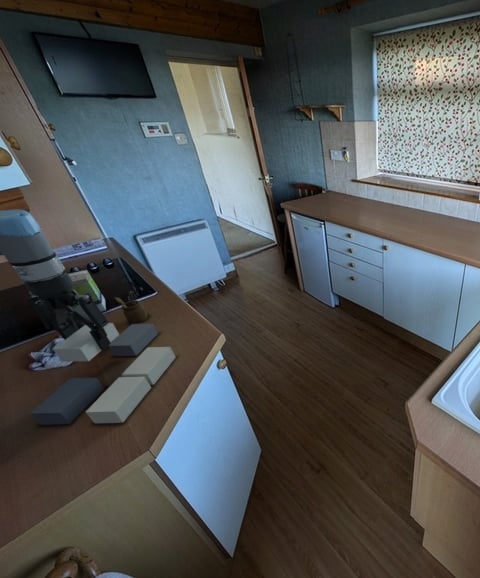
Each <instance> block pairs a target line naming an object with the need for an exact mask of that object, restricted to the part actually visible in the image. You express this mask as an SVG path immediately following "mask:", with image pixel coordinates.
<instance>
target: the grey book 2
mask: <svg viewBox="0 0 480 578" xmlns="http://www.w3.org/2000/svg"><path fill="white" fill-rule="evenodd" d="M158 334H159V333H158V331H157V329H156V327H155V325H154V323H135V324H132V323H131V325H129V326H128V327H126V329H125V330H123V331H122V332H121V333H119V336H117V337H116V338H115V339H114V340H113V341H112V342H111V344H110V345H109V346H107V348H108V349H109V350H110V352H111V354H112V355H113V356H114V357H137V356H139V354H140V353H142V352H143V350H144V349H145V347H146V346H148V345H149V344H150V342H152V340H153V339H154V338H156V337H157V335H158Z"/></svg>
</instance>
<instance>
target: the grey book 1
mask: <svg viewBox="0 0 480 578" xmlns="http://www.w3.org/2000/svg"><path fill="white" fill-rule="evenodd" d="M104 390H105V388H104V386H103V385H102V383H101V382H100V380H98V378H97V377H69V379H67V380H66V381H65V382H63V384H62V385H61V386H59V387H58V388H57V389H56V390H55V391H54V392H53V393H51V394H50V395H49V396H48V397H46V399H44V400H43V402H41V403H39V405H38V406H36V407H35V408H34V409H33V410H32V411H31V412H30V413H29V414H30V415H31V417H33V419H35V420H36V422H38V423H39V424H40V426H44V425H49V426H50V425H71V424H72V423H73V422H74V421H75V419H77V417H78V416H79V415H80V414H82V412H83V411H84V410H85V409H86V408H87V407H88V406H89V405H90V404H91V403H92V402H93V401H94V400H95V399H96V398H97V397H98V396H99V395H100V394H101V393H102V392H103V391H104Z"/></svg>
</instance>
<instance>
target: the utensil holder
mask: <svg viewBox="0 0 480 578" xmlns="http://www.w3.org/2000/svg"><path fill="white" fill-rule="evenodd" d="M132 293H133V292H130V294H131V298H132V300H131V299H130V297H127V298H128V301H127V302H124V301H123V300H122V299H121V298H120V297H115V296H114V299H115V300H116V301H117V302H118V304H121V309H122V310H123V311H122V312H123V315H124V317H125V319H126V320H127V322H128V323H129V324H131V325H132V324H140V323H142V322H145V321H146V320H147V319H148V314H147V311H146V310H145V308H144V306H143V305H142V304H141V302H140V301H139V300H138V299H137V298H138V297H137V295H135V296H133V294H132ZM133 297H135V298H133ZM134 299H135V300H134Z"/></svg>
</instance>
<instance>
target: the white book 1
mask: <svg viewBox="0 0 480 578" xmlns="http://www.w3.org/2000/svg"><path fill="white" fill-rule="evenodd" d="M103 328H104V330H105V332H106V333H107V337H108V339H109V341H110V342H112V341H113V340H114V339H116V338H117V337H118V336H119V335H120V333H119V331H118V330H117V329H116V328H117V327H116V326H115V325H114V323H113V322H109V323H108V324H107V325H106V326H104V327H103ZM90 331H91V329H90V328H89V327H88V326H87V325H85V326H83V327H82V328H81V329H79V330H78V331H76V332H75V333H74V334H72V335H71V336H70V337H68V338H67V339H66V340H65V339H63V340H62V342H60V343H59V344H58V345H56V346H54V347H53V348H52V350H53V351H54V353H55V354H56V356H57V357H58V358H59V360H60V361H61V362H90V361H91V360H92V359H94V357H96V356H97V355H98V354H99V353H100V352H102V350H101V349H100V348H99V346H98V344H97V343H96V341H95V340H94V338H93V337H92V335H91V334H90Z"/></svg>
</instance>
